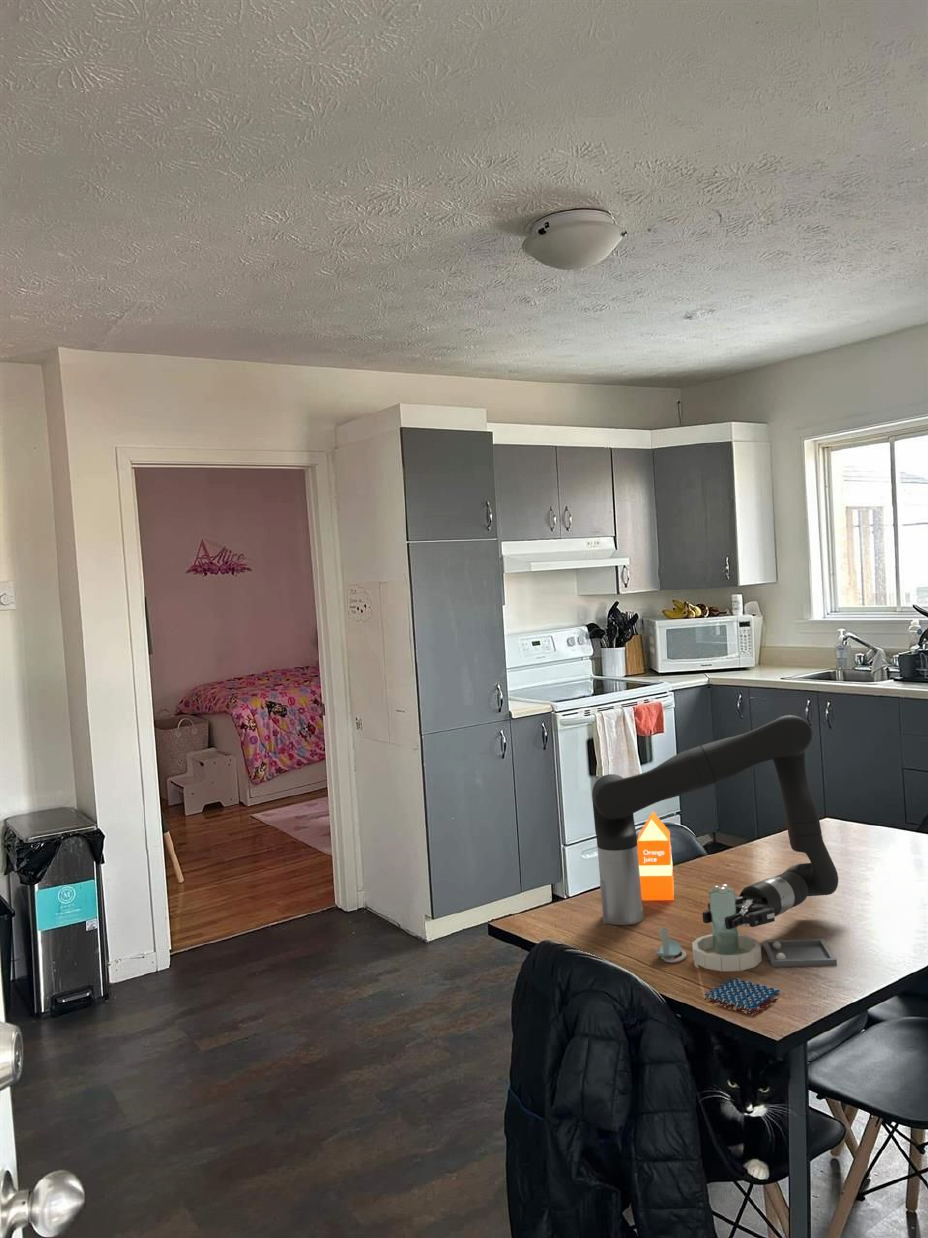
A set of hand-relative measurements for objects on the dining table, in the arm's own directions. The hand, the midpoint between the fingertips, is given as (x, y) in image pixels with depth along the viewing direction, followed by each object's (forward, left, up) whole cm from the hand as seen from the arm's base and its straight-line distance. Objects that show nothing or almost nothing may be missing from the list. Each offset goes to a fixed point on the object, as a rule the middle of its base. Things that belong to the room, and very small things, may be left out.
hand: (715, 921), depth 191 cm
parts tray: (+16, +2, -9) cm, 18 cm away
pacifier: (-9, +5, -9) cm, 14 cm away
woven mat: (+2, -16, -10) cm, 19 cm away
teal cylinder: (+2, +2, -7) cm, 7 cm away
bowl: (+2, +2, -9) cm, 9 cm away
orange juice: (-9, +46, -9) cm, 48 cm away
